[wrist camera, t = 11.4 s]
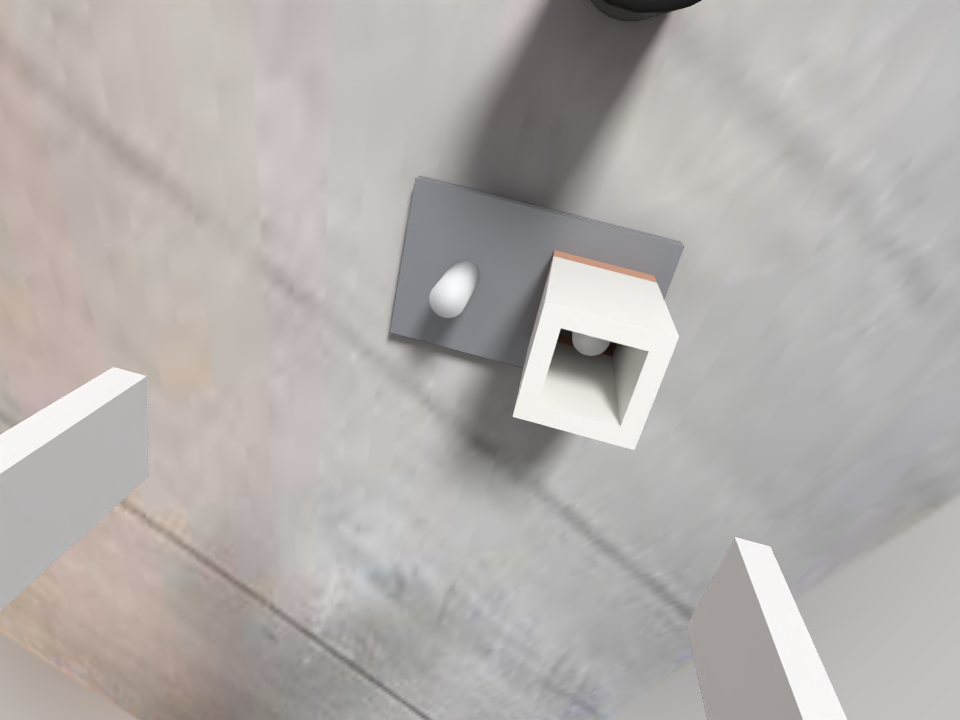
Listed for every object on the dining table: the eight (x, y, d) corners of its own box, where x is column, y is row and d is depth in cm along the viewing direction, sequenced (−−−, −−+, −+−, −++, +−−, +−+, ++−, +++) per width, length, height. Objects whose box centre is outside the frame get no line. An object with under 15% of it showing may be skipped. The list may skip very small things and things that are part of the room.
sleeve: (529, 340, 38) (512, 416, 29) (554, 249, 35) (545, 301, 26) (622, 365, 37) (634, 450, 28) (653, 275, 35) (679, 336, 26)
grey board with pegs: (395, 326, 40) (364, 362, 34) (420, 175, 36) (390, 189, 30) (626, 388, 39) (634, 436, 34) (680, 242, 35) (699, 268, 29)
